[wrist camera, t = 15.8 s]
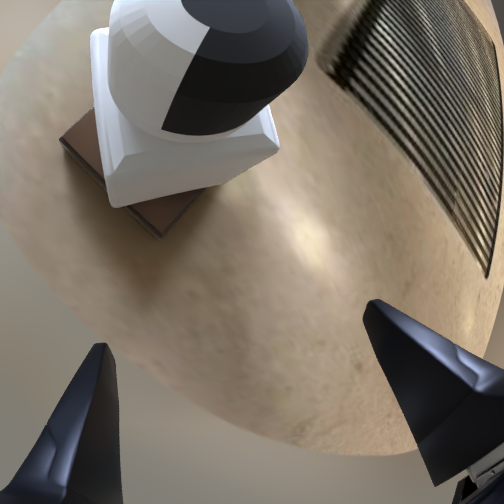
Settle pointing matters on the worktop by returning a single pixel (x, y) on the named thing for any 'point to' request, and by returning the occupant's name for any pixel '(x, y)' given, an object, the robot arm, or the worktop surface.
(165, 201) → the brown square tile
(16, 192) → the worktop surface
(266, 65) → the medicine bottle
